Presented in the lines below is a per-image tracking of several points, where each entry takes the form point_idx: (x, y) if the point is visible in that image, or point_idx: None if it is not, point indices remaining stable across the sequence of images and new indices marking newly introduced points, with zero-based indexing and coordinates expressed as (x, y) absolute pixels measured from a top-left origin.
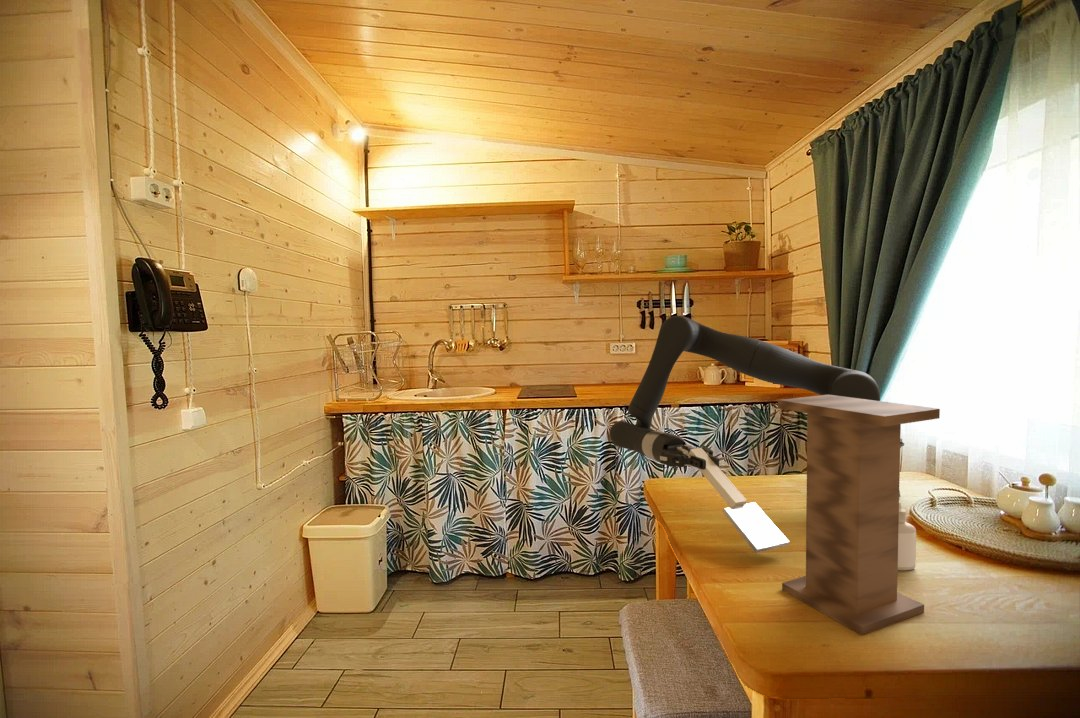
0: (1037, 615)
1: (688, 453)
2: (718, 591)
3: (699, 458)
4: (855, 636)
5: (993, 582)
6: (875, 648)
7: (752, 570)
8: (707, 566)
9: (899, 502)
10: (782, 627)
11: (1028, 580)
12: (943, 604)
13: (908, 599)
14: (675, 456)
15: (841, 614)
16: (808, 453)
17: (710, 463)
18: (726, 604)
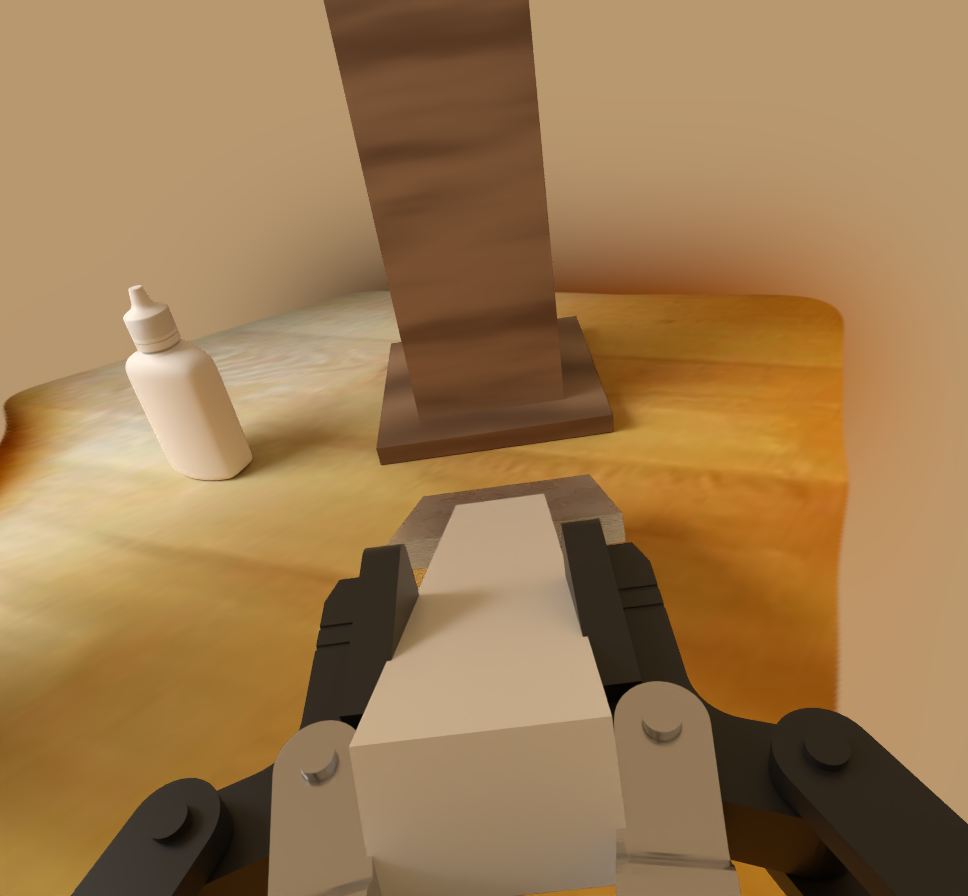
0: (237, 342)
1: (621, 848)
2: (812, 448)
3: (601, 565)
4: (591, 330)
5: None
6: (586, 314)
7: (627, 512)
8: (788, 560)
9: (134, 286)
10: (717, 351)
11: (75, 398)
12: (330, 368)
13: (398, 354)
14: (945, 816)
15: (579, 336)
16: None
17: (467, 603)
18: (813, 408)
